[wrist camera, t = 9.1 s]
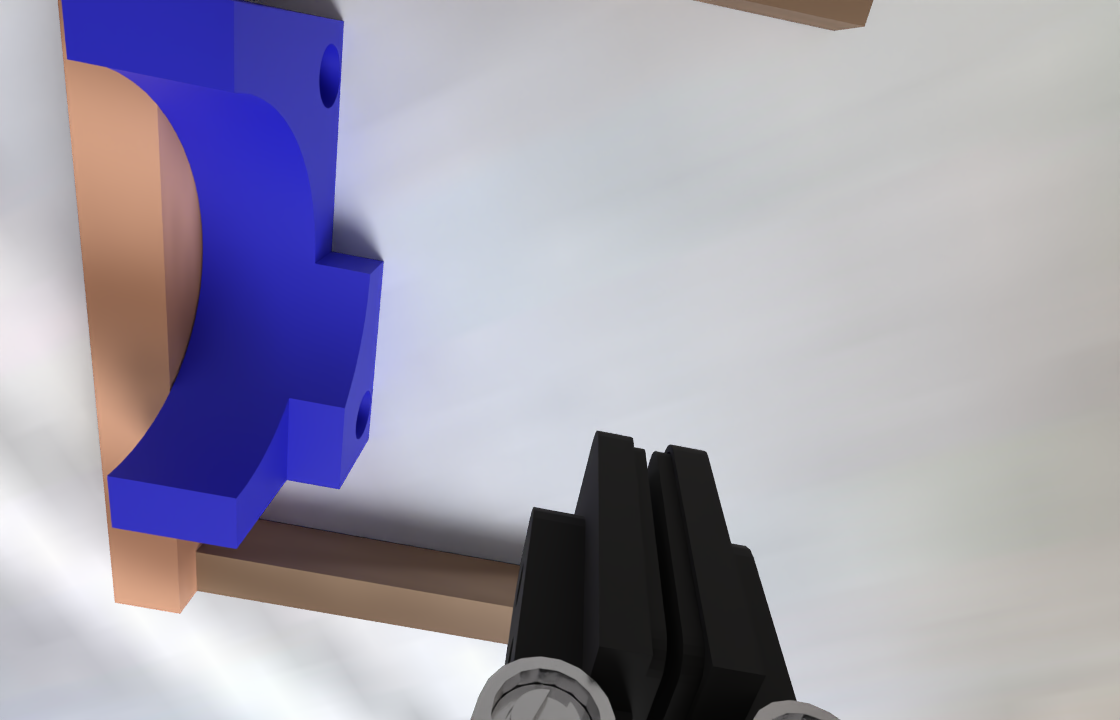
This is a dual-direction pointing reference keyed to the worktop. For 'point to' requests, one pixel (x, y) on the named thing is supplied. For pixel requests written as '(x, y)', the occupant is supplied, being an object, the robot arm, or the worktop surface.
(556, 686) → the robot arm
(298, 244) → the cable clip
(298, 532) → the guide channel
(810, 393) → the worktop surface
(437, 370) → the worktop surface
